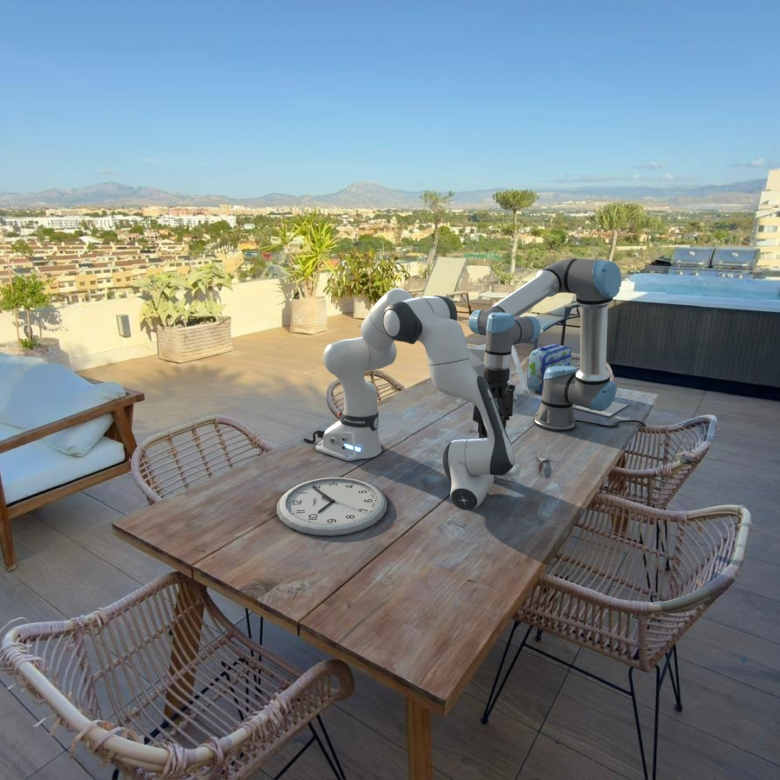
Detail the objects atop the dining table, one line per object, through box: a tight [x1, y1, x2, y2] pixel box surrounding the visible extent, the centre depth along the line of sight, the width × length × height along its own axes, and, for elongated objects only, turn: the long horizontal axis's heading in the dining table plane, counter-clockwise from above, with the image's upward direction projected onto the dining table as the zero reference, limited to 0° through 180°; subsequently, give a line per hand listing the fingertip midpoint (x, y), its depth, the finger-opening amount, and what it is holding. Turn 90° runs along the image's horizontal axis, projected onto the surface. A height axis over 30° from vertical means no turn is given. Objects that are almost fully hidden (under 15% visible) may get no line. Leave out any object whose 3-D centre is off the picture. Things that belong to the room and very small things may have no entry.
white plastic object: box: [467, 343, 531, 400], centre depth 245 cm, size 37×45×31 cm
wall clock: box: [276, 476, 388, 537], centre depth 142 cm, size 30×2×30 cm
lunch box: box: [526, 343, 572, 394], centre depth 247 cm, size 26×11×21 cm, turn 134°
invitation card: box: [573, 400, 629, 418], centre depth 226 cm, size 21×1×15 cm
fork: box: [538, 449, 548, 474], centre depth 169 cm, size 3×16×2 cm, turn 160°
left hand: (490, 456), depth 160 cm, fingers closed on jar, 5 cm apart
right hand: (491, 440), depth 158 cm, fingers closed on lid, 6 cm apart
